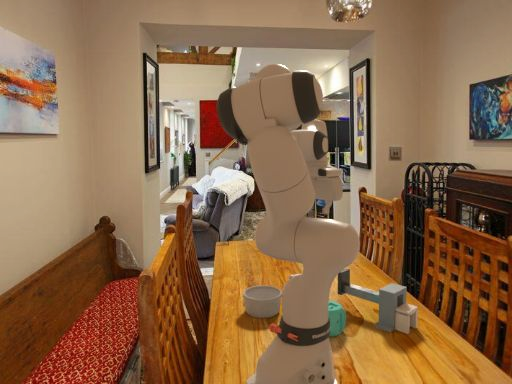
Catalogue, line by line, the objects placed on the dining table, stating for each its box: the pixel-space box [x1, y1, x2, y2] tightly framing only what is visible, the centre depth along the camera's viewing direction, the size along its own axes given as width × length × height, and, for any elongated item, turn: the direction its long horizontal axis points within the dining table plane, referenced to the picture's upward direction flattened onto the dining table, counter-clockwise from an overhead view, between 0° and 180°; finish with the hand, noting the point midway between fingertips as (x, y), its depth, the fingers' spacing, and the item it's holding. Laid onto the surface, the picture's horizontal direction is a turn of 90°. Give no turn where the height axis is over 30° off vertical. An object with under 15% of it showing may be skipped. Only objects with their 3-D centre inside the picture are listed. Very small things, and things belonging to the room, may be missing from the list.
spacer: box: [394, 302, 419, 335], centre depth 115 cm, size 6×4×7 cm, turn 132°
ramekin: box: [242, 284, 282, 319], centre depth 130 cm, size 13×13×7 cm
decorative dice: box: [328, 300, 347, 338], centre depth 115 cm, size 8×8×8 cm
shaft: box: [337, 267, 379, 305], centre depth 125 cm, size 5×20×8 cm, turn 42°
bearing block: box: [374, 282, 408, 333], centre depth 119 cm, size 12×5×12 cm, turn 131°
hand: (314, 212), depth 126 cm, fingers open, 8 cm apart
